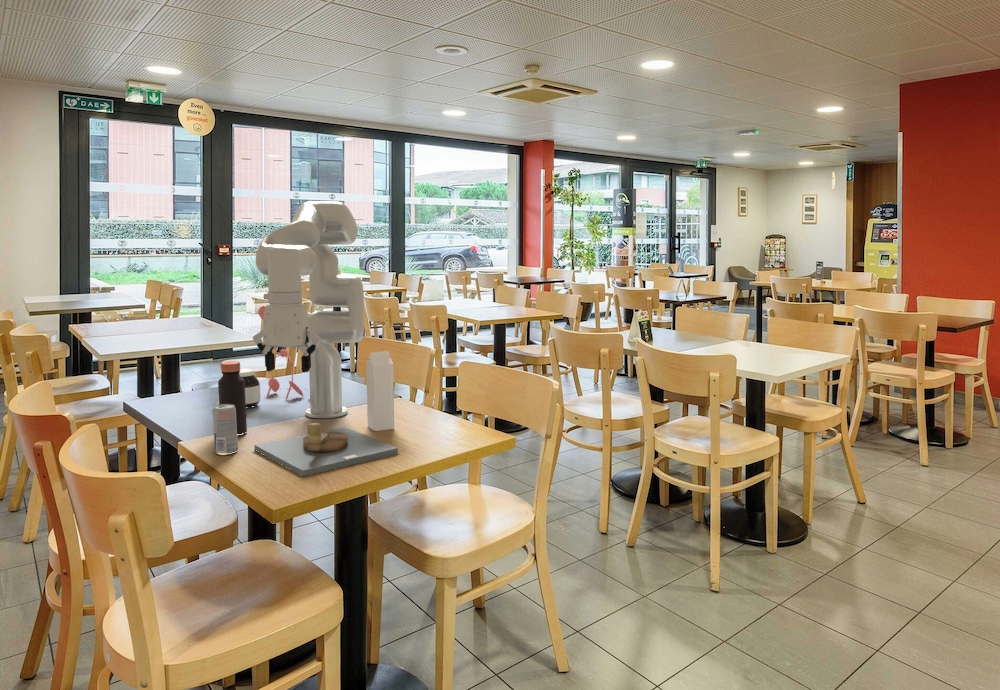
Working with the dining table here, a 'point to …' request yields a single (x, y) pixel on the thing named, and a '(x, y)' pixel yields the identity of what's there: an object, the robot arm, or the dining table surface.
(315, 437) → the dial
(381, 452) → the base plate
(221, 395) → the bottle
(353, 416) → the dining table surface
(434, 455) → the dining table surface
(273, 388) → the pink flower figure
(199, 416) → the dining table surface
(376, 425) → the milk
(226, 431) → the energy drink
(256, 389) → the spread jar
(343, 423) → the dining table surface
